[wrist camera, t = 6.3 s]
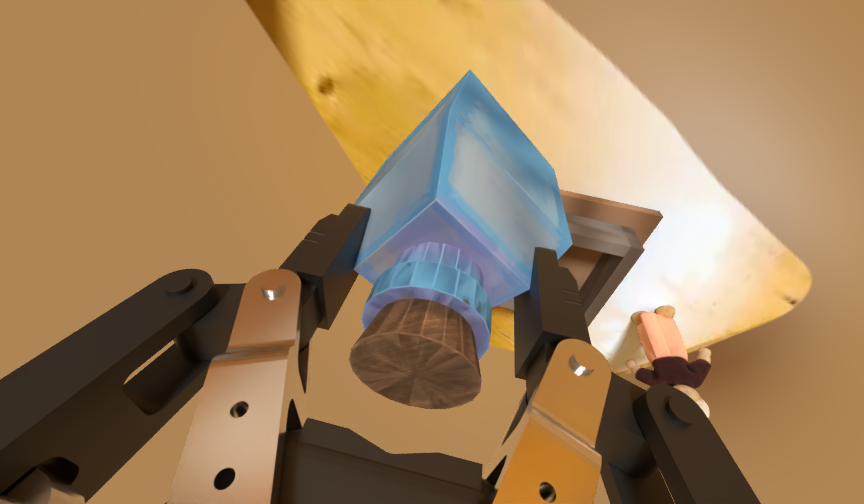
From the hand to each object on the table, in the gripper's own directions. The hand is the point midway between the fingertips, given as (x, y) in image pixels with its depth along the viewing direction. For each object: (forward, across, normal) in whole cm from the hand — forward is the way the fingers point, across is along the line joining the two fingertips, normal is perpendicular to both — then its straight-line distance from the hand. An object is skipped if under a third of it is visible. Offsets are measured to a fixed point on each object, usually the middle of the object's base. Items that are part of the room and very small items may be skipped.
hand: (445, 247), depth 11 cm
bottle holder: (+21, -11, +14) cm, 28 cm away
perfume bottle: (+7, 0, 0) cm, 7 cm away
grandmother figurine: (+21, -25, +20) cm, 39 cm away
